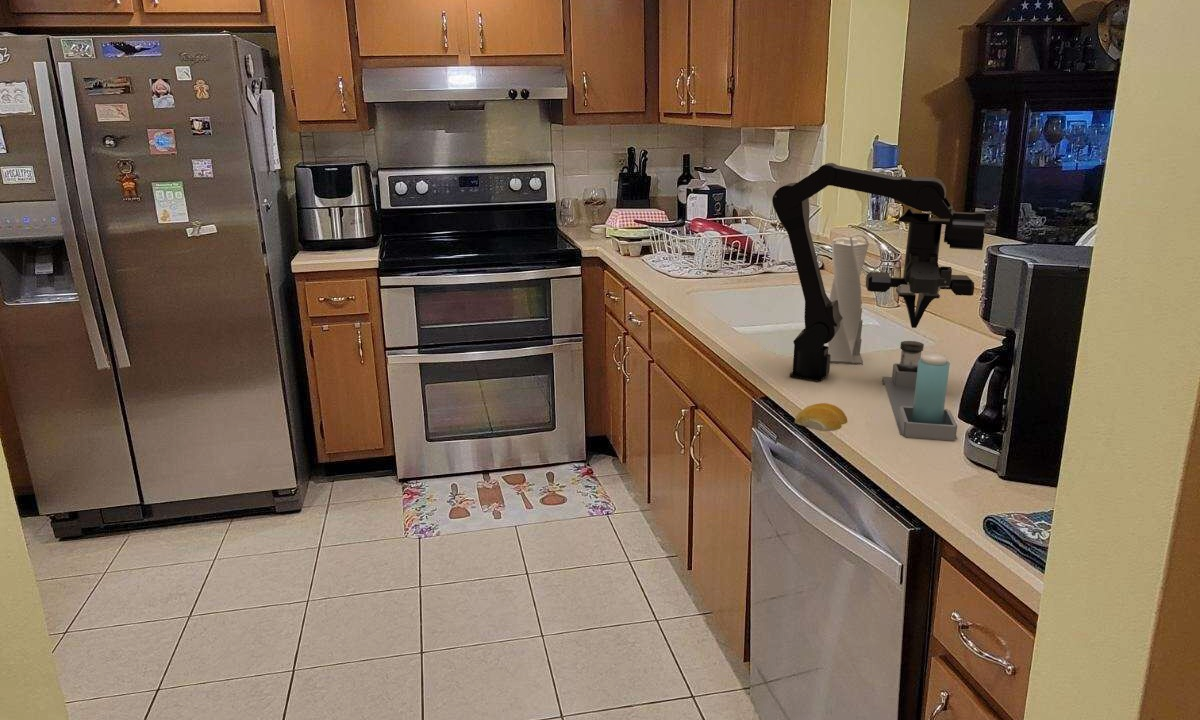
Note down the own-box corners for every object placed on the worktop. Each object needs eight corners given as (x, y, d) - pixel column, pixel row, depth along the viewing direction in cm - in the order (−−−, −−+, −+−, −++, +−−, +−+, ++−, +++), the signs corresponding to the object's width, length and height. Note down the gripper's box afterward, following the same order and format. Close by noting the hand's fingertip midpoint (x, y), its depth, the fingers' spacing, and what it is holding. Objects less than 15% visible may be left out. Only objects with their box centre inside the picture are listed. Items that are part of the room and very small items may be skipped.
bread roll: (852, 424, 146) (854, 402, 145) (833, 440, 140) (835, 418, 138) (807, 414, 151) (809, 393, 150) (787, 429, 144) (788, 408, 143)
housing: (958, 446, 136) (961, 424, 135) (900, 442, 138) (902, 420, 137) (929, 384, 166) (931, 364, 164) (881, 381, 167) (883, 362, 166)
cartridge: (908, 431, 140) (916, 357, 136) (913, 422, 143) (922, 350, 140) (938, 437, 137) (947, 362, 133) (943, 427, 141) (952, 354, 137)
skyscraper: (863, 366, 176) (875, 235, 168) (824, 364, 178) (834, 234, 170) (859, 355, 184) (871, 228, 176) (822, 353, 186) (831, 227, 178)
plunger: (895, 374, 162) (898, 345, 160) (900, 368, 165) (903, 339, 164) (918, 377, 160) (921, 348, 158) (922, 372, 163) (925, 342, 162)
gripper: (874, 252, 150) (866, 336, 154) (985, 256, 146) (974, 341, 150) (869, 242, 160) (861, 320, 165) (972, 245, 156) (962, 325, 161)
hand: (913, 327), depth 160 cm, fingers closed
